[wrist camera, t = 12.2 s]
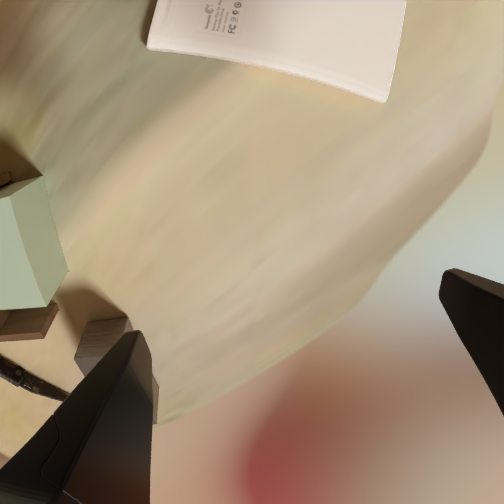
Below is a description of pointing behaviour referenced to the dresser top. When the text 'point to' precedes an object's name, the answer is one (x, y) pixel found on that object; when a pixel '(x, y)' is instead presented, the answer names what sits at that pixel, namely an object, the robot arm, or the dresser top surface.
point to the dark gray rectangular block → (105, 348)
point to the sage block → (28, 247)
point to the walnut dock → (25, 314)
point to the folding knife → (30, 382)
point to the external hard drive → (290, 37)
